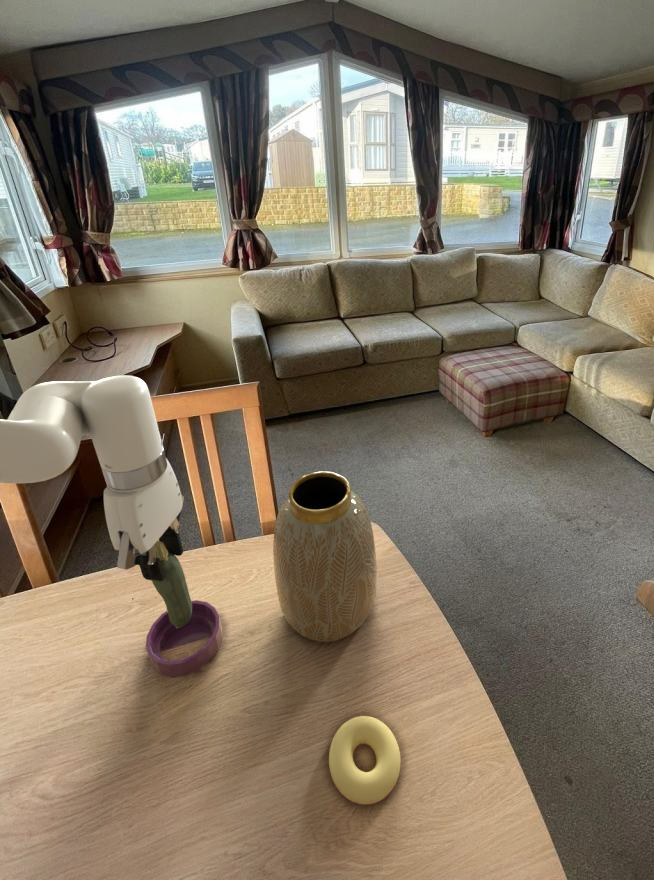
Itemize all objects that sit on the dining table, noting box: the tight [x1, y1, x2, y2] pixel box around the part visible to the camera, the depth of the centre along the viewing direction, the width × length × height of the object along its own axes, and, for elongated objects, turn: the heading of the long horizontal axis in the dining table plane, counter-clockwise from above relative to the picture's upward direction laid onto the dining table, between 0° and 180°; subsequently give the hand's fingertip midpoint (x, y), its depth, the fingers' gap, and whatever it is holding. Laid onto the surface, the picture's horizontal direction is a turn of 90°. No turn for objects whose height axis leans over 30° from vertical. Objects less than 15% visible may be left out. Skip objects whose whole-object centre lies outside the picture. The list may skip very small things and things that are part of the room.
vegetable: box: [151, 539, 192, 628], centre depth 74 cm, size 4×4×20 cm
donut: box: [328, 715, 401, 806], centre depth 65 cm, size 10×5×9 cm
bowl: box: [145, 599, 224, 678], centre depth 80 cm, size 11×11×4 cm
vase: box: [272, 471, 378, 643], centre depth 81 cm, size 17×17×27 cm
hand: (163, 564), depth 72 cm, fingers closed on vegetable, 4 cm apart
